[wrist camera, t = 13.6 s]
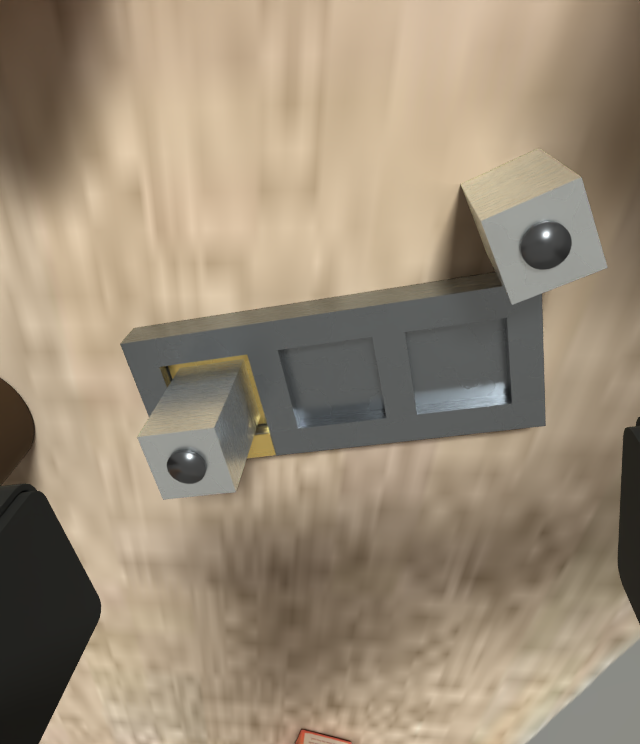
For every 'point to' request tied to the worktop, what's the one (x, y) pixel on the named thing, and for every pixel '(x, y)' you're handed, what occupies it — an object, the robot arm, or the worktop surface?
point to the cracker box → (318, 739)
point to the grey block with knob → (201, 430)
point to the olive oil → (13, 430)
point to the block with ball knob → (535, 224)
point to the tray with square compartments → (367, 364)
